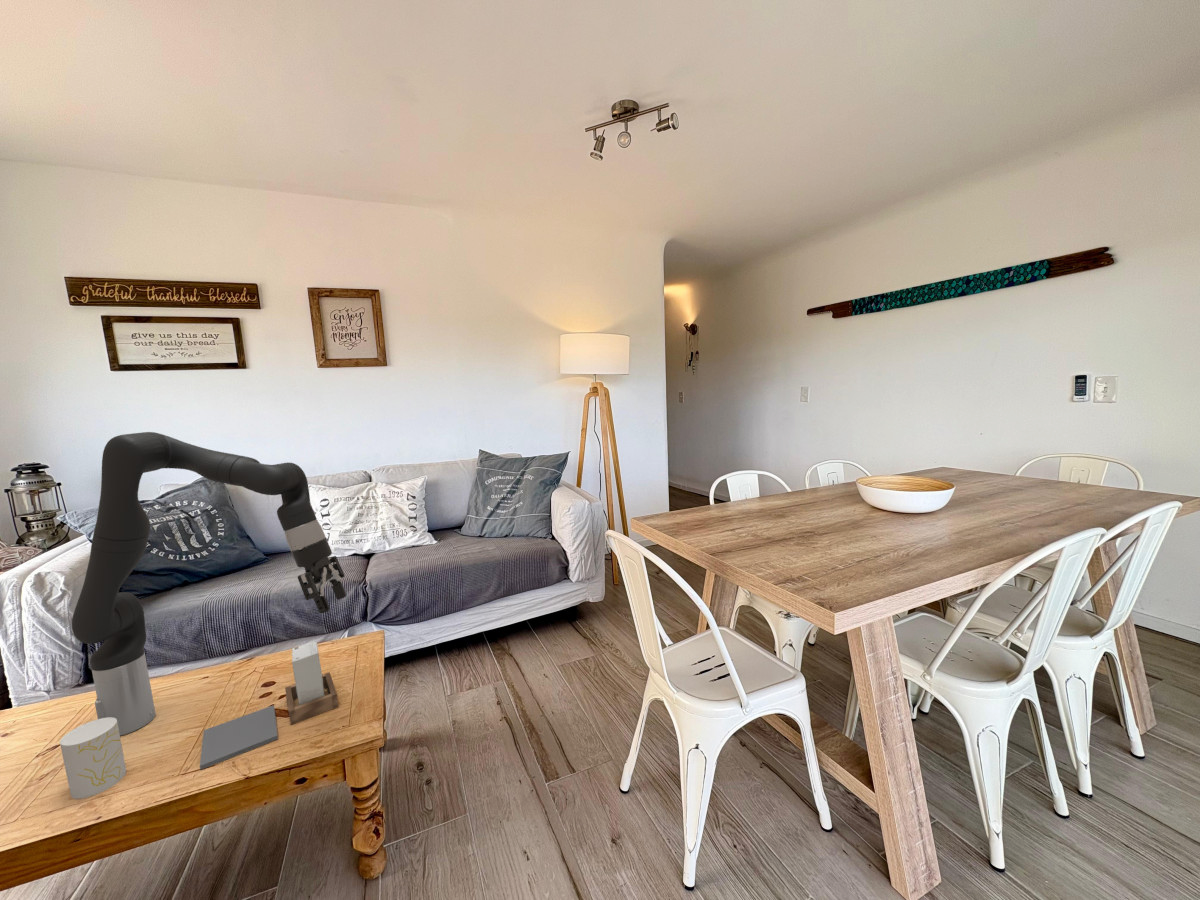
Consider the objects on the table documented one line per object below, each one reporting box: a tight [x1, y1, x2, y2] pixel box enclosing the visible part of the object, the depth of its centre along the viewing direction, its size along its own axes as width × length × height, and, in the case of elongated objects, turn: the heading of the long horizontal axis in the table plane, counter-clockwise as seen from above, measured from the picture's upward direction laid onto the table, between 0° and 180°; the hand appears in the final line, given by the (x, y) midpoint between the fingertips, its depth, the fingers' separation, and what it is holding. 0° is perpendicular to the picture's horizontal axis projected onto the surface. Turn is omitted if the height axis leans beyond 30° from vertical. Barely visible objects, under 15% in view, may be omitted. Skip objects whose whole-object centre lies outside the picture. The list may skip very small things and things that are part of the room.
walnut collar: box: [284, 672, 339, 726], centre depth 123 cm, size 10×12×4 cm
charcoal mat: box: [199, 704, 279, 771], centre depth 112 cm, size 14×14×1 cm
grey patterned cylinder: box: [59, 717, 127, 800], centre depth 99 cm, size 8×8×12 cm
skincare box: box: [291, 641, 325, 706], centre depth 122 cm, size 8×6×15 cm
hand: (334, 604), depth 113 cm, fingers open, 8 cm apart
